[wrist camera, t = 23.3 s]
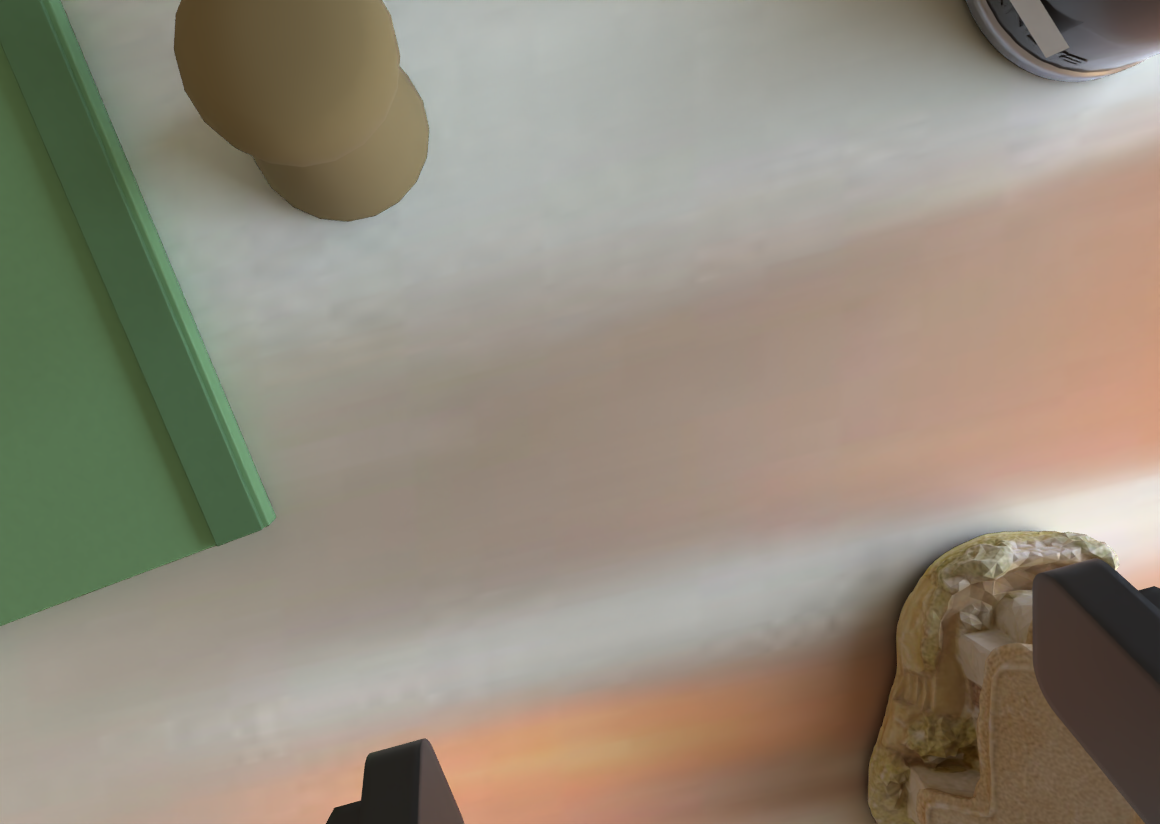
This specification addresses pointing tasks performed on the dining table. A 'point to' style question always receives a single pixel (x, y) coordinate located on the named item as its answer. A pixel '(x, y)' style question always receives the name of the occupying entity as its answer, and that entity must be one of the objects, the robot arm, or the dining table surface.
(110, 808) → the dining table surface
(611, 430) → the dining table surface
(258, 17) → the cork
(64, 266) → the green flat rectangular block
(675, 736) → the dining table surface
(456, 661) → the dining table surface
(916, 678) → the ceramic model
